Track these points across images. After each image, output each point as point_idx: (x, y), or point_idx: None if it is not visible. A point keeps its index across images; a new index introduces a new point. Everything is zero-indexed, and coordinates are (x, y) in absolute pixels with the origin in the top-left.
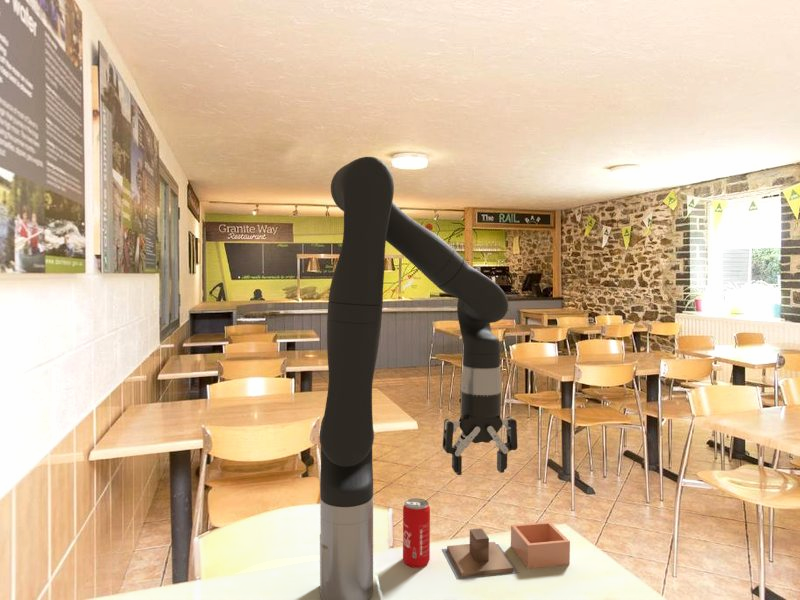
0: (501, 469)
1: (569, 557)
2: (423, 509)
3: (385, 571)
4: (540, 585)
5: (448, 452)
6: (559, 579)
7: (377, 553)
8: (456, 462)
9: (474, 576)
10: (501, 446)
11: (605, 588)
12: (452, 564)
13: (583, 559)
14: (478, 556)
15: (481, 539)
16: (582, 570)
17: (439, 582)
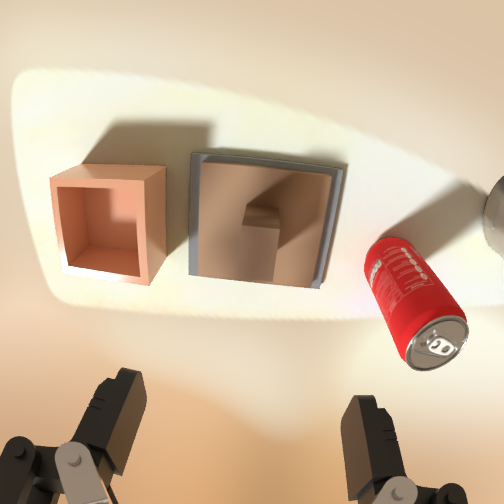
0: (130, 380)
1: (70, 168)
2: (438, 315)
3: (445, 251)
4: (164, 109)
5: (451, 487)
6: (116, 123)
7: None
8: (388, 449)
9: (300, 167)
10: (89, 491)
11: (57, 85)
12: (326, 227)
13: None
14: (272, 211)
15: (264, 226)
16: (64, 148)
17: (375, 181)
